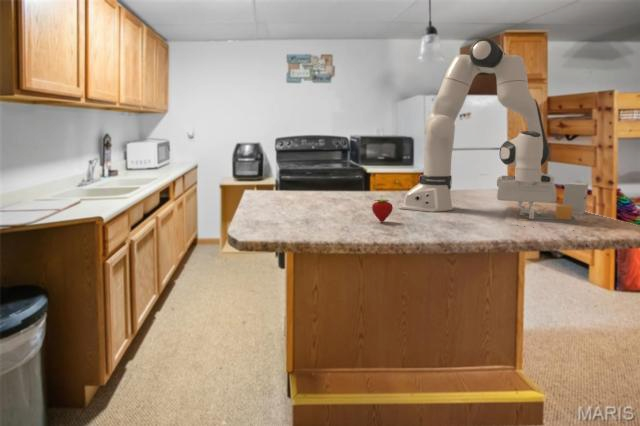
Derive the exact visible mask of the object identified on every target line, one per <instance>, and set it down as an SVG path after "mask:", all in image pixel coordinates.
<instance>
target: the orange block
mask: <svg viewBox="0 0 640 426" xmlns="http://www.w3.org/2000/svg"><path fill="white" fill-rule="evenodd" d="M554 213H555V214H554V215H555V217H556V219H571V217H572V216H573V214H572V206H571V205H563V204H556V205H555V212H554Z"/></svg>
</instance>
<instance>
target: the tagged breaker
mask: <svg viewBox="0 0 640 426" xmlns="http://www.w3.org/2000/svg"><path fill="white" fill-rule="evenodd" d="M534 214H535V208H531V209H529V219H534Z"/></svg>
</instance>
